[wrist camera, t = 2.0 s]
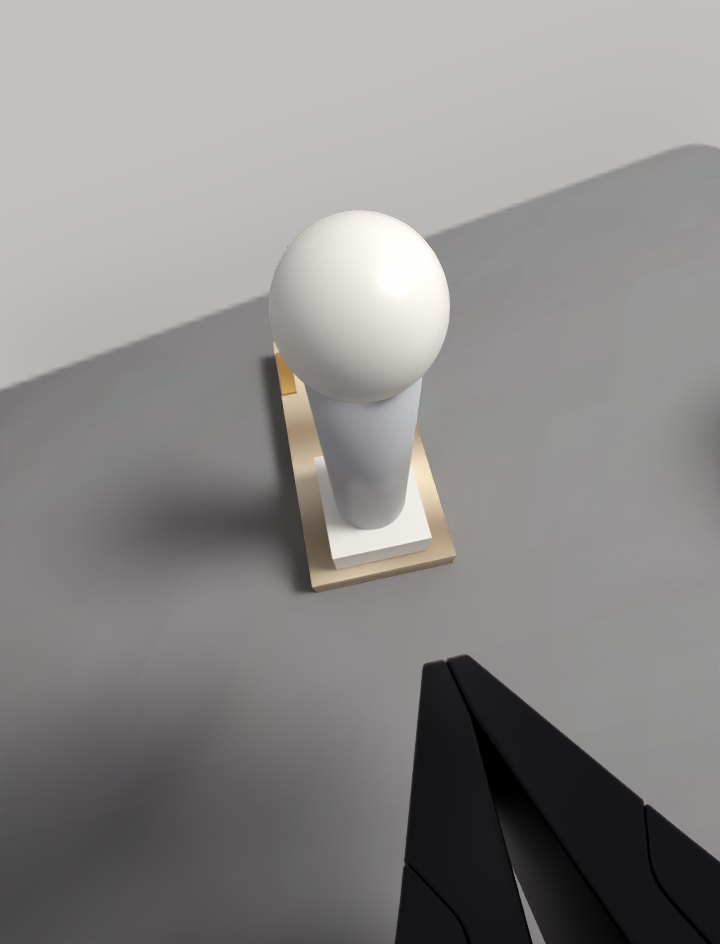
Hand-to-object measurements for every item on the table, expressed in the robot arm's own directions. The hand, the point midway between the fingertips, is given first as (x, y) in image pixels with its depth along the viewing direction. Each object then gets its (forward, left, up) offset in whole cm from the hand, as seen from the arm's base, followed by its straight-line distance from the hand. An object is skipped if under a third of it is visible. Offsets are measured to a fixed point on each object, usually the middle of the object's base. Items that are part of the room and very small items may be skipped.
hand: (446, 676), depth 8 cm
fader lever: (+5, +5, -12) cm, 14 cm away
